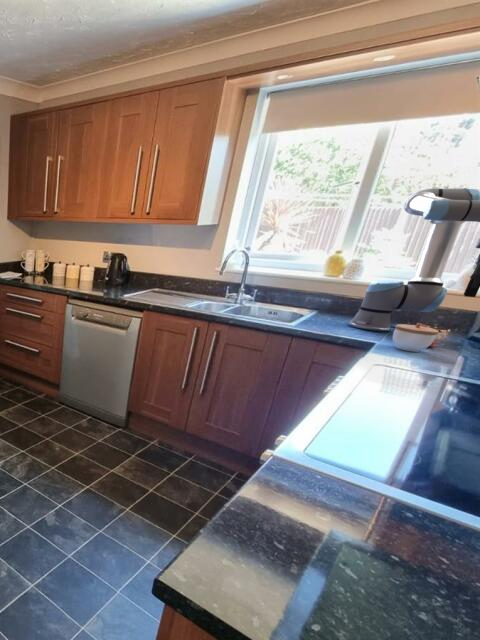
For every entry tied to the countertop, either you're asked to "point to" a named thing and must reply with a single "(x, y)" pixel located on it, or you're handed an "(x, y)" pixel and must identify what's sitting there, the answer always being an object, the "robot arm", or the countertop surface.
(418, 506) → the countertop surface
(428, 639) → the countertop surface
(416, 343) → the lidded bowl
